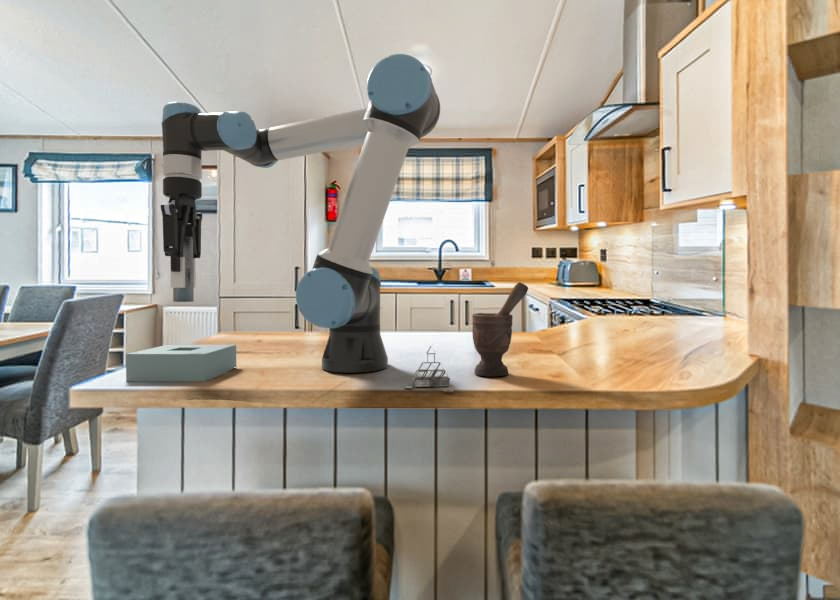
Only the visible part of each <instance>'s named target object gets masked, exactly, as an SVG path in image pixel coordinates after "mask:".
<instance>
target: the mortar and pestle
mask: <svg viewBox="0 0 840 600" xmlns="http://www.w3.org/2000/svg"><path fill="white" fill-rule="evenodd" d="M528 291H529V287H528V286H527V285H526V284H525V283H523V282H521V281H519V282H517V283H516V284H515V285H514V287H513V288H512V289H511V291H510V293H509V295H508V297H507V299H506V300H505V302H504V304H503V306H502V307H501V309H500V310H499V311H498V312H497V313H496V312H493V313H492V312H489V313H488V312H477V313H473V314H472V316H471V317H472V321H471V322H472V323H471V324H472V328H471V329H472V332H471V333H472V340H473V345H474V349H475V351H476V352H477V353H478V354H479V356H480V360H479V363H477V365H476V366H475V368H474V372H473V373H474V375H477V376H480V377H489V378H490V377H491V378H492V377H502V376H509V369H508V366H506V364H504V362H503V360H502V359H503V355H504V354H506V353H507V352H508V351H509V348H510V345H511V341H512V336H513V335H512V334H513V329H512V328H513V315H512V314H511V313H512V311H513V310H514V309H515V307H516V306H517V305H518V304H519V303H520V302H521V300H523V298H524V297H525V296H526V295H527V293H528Z"/></svg>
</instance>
